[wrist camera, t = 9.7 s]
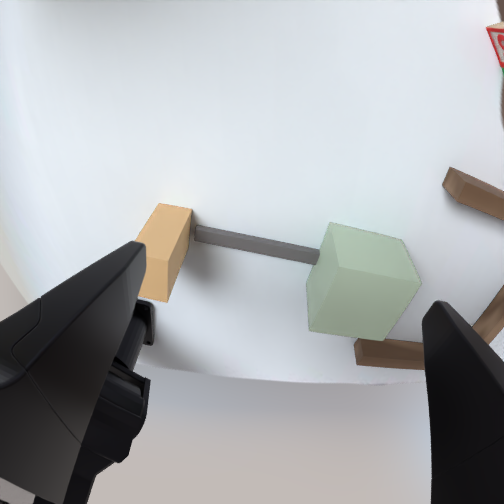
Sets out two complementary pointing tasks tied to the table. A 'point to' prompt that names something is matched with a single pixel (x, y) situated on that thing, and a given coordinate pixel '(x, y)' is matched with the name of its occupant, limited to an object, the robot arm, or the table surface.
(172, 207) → the block dumbbell
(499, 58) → the stack of blocks
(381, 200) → the table surface
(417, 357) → the frame
